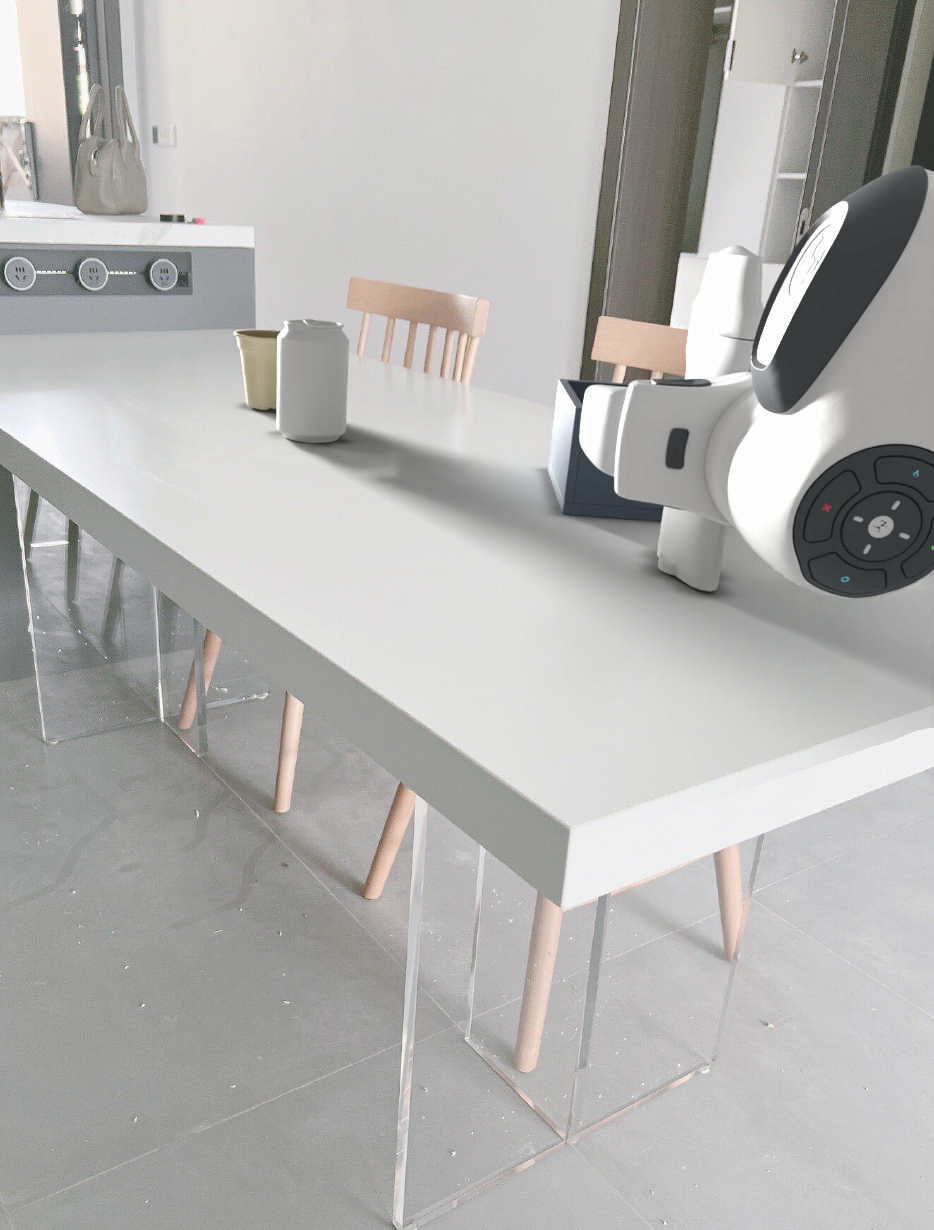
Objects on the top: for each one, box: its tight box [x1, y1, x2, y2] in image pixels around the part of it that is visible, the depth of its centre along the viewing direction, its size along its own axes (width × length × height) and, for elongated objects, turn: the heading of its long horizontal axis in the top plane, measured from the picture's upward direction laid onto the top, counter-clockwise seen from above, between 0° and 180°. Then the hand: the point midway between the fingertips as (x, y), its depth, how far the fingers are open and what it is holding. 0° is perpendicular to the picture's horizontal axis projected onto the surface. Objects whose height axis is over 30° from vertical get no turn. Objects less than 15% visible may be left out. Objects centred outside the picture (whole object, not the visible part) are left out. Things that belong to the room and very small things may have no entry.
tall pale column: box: [656, 244, 765, 592], centre depth 74 cm, size 11×4×22 cm, turn 6°
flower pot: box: [233, 329, 283, 411], centre depth 129 cm, size 9×9×9 cm
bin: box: [547, 378, 664, 522], centre depth 98 cm, size 12×18×9 cm, turn 177°
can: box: [276, 318, 350, 444], centre depth 113 cm, size 8×8×12 cm
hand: (722, 411), depth 71 cm, fingers closed on tall pale column, 2 cm apart
